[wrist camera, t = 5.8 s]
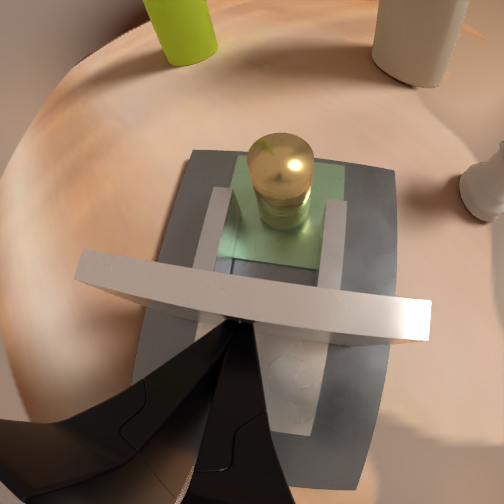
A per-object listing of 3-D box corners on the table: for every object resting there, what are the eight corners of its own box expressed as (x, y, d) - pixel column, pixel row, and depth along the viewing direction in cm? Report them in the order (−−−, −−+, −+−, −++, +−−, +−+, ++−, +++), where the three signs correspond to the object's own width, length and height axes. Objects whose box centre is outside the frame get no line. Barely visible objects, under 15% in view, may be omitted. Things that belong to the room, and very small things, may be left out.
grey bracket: (356, 346, 14) (428, 340, 6) (172, 315, 16) (73, 279, 8) (366, 230, 16) (417, 133, 8) (199, 210, 17) (140, 114, 10)
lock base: (352, 483, 12) (376, 533, 6) (131, 436, 15) (73, 459, 9) (390, 178, 18) (417, 120, 12) (196, 157, 20) (169, 100, 15)
